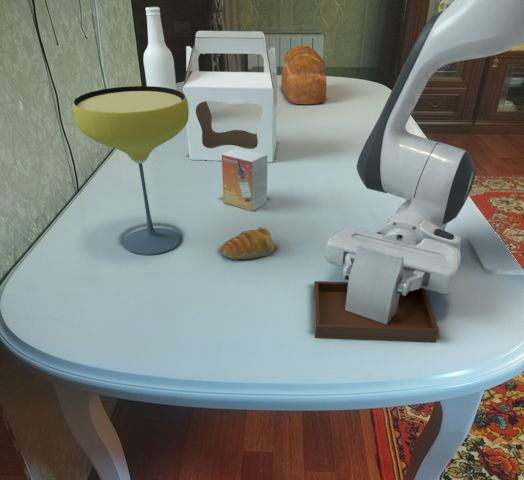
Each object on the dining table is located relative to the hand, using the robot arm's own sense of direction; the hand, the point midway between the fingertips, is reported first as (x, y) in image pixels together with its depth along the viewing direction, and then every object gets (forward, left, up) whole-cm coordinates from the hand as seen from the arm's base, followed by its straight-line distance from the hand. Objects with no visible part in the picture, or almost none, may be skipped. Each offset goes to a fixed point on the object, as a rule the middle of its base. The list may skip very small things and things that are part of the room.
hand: (373, 283), depth 73 cm
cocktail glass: (+39, -23, -6) cm, 45 cm away
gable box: (+29, -75, -6) cm, 80 cm away
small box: (+23, -42, -6) cm, 48 cm away
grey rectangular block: (0, -1, -6) cm, 6 cm away
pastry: (+20, -20, -6) cm, 28 cm away
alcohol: (+54, -104, -6) cm, 117 cm away
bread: (+11, -140, -6) cm, 140 cm away
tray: (0, -1, -6) cm, 6 cm away
